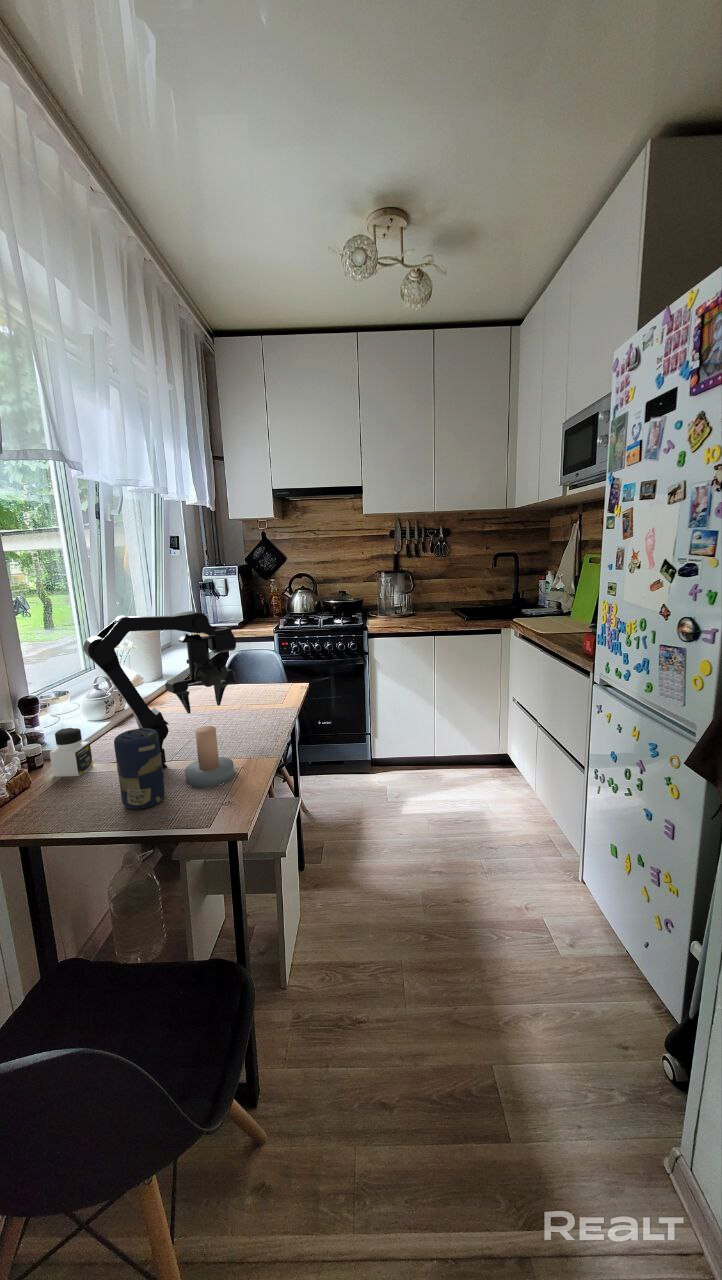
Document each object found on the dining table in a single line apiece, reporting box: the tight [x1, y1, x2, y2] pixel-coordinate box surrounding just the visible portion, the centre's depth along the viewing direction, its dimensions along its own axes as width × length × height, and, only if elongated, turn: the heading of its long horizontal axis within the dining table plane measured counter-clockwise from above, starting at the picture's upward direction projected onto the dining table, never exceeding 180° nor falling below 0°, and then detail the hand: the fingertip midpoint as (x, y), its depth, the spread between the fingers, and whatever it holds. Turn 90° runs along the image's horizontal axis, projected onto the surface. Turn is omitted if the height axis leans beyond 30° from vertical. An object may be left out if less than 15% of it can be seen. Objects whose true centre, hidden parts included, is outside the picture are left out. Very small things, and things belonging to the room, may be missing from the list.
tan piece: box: [194, 725, 220, 771], centre depth 130 cm, size 5×5×10 cm
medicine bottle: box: [49, 726, 94, 778], centre depth 138 cm, size 7×7×12 cm
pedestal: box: [184, 756, 235, 789], centre depth 132 cm, size 12×12×3 cm
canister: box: [113, 727, 166, 810], centre depth 119 cm, size 10×10×18 cm
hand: (204, 709), depth 146 cm, fingers open, 9 cm apart
